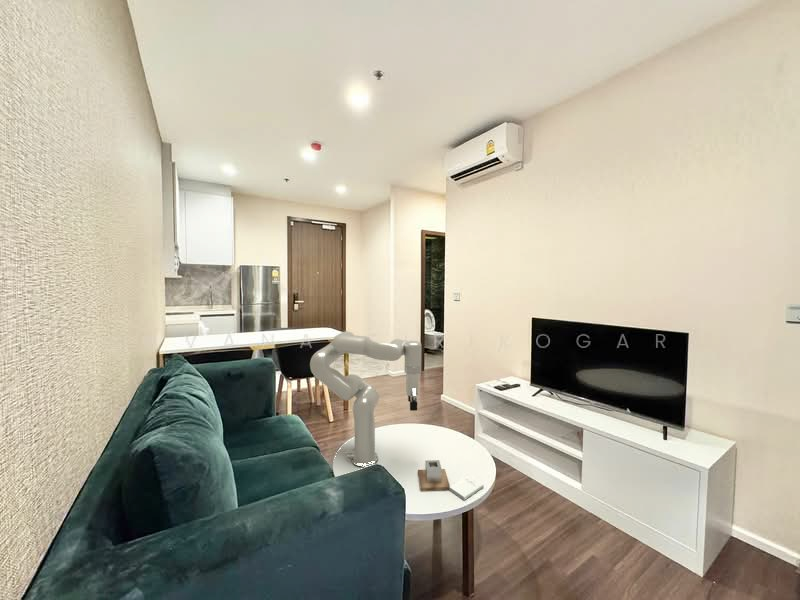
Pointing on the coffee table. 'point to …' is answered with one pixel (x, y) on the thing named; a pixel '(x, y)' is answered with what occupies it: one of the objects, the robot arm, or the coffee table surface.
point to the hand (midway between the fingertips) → (412, 405)
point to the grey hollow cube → (433, 471)
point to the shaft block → (433, 486)
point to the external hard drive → (466, 487)
